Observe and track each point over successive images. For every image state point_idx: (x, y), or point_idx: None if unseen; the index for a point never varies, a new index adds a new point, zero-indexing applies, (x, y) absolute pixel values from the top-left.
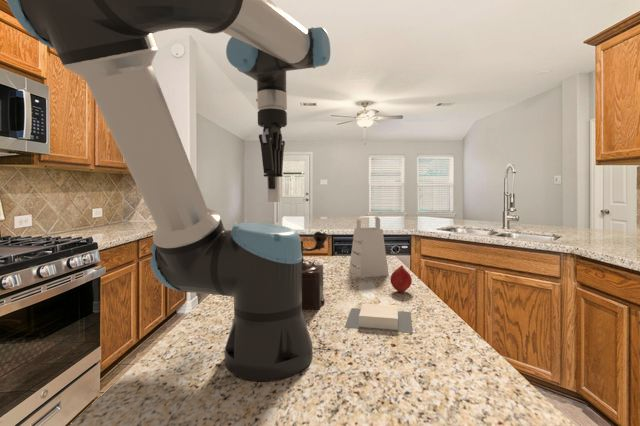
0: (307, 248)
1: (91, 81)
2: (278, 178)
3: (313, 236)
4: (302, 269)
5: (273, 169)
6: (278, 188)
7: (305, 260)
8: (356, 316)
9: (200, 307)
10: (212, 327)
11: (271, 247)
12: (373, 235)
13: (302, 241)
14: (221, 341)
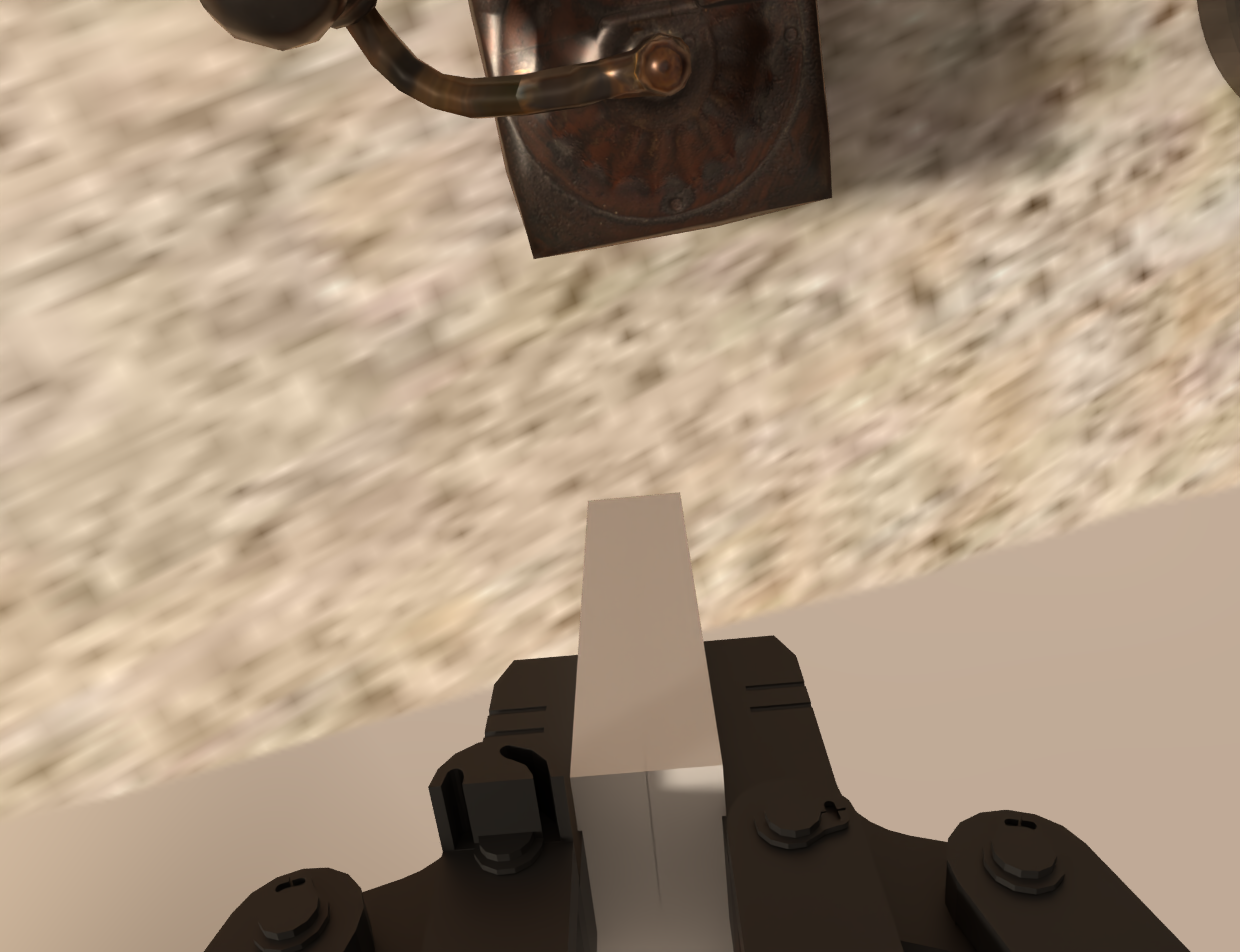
0: (440, 81)
1: None
2: (624, 746)
3: (317, 35)
4: (761, 9)
5: (1042, 902)
6: (636, 608)
7: (607, 41)
8: None
9: (844, 592)
10: (1085, 383)
11: None
12: None
13: (667, 43)
14: (1236, 249)
